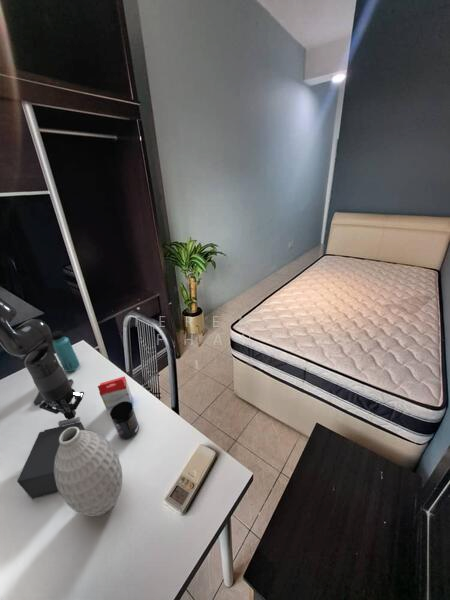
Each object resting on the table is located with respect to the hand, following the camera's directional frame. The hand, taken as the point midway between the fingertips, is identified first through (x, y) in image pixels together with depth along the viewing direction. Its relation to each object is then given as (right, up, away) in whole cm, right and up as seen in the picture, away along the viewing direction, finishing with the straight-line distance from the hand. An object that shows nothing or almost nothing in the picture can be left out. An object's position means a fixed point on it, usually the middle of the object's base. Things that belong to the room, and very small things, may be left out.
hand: (71, 417), depth 82 cm
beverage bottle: (-17, +8, +28) cm, 34 cm away
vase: (+20, -14, -17) cm, 29 cm away
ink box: (+13, 0, +9) cm, 16 cm away
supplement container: (+19, -5, 0) cm, 20 cm away
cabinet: (+3, -10, -9) cm, 14 cm away
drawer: (+2, -8, -6) cm, 10 cm away
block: (-17, +2, +16) cm, 23 cm away
